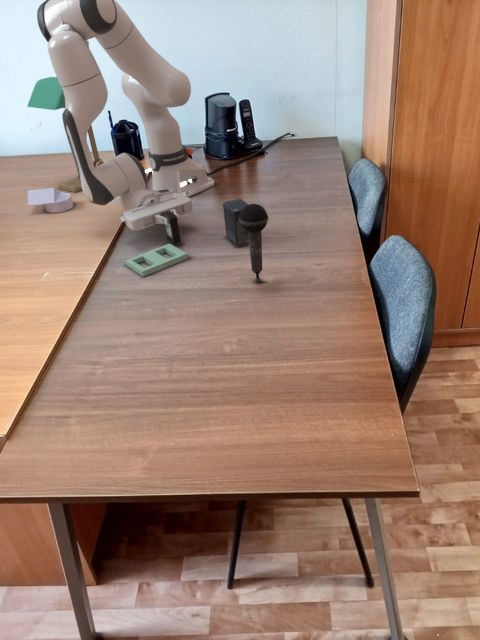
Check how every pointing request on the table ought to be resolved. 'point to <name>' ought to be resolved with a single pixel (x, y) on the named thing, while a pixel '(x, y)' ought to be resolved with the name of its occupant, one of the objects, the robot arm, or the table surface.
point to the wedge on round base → (50, 199)
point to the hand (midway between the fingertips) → (173, 220)
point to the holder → (156, 259)
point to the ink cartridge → (172, 228)
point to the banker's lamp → (53, 98)
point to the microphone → (254, 233)
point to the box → (235, 222)
